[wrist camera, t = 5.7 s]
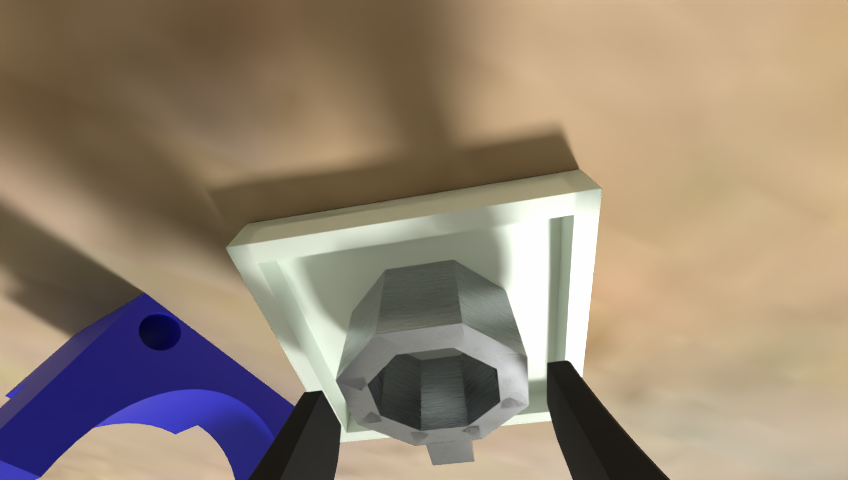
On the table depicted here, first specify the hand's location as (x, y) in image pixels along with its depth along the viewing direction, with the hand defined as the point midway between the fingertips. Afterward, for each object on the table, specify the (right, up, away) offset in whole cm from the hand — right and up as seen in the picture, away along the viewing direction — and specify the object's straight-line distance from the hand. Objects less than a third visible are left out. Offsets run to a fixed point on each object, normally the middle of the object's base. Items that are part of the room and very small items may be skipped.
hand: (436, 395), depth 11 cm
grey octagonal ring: (0, +2, +2) cm, 3 cm away
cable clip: (-10, -2, +6) cm, 12 cm away
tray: (0, +2, +3) cm, 3 cm away
